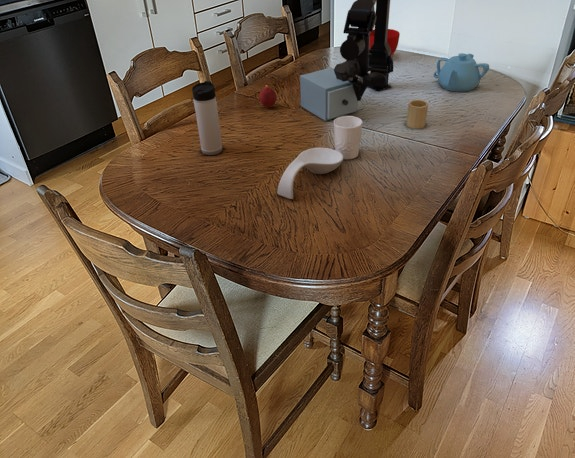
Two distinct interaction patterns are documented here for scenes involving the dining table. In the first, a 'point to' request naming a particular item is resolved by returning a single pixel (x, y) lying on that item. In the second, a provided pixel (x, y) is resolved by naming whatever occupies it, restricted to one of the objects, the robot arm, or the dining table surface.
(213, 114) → the travel mug
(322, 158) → the spoon rest
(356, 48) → the robot arm
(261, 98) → the onion
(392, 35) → the ceramic cup
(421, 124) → the stand
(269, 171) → the dining table surface
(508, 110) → the dining table surface
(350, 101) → the drawer
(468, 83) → the teapot
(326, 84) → the cabinet
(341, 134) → the white cup
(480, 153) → the dining table surface
